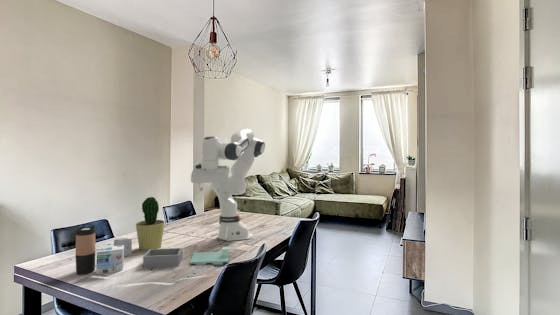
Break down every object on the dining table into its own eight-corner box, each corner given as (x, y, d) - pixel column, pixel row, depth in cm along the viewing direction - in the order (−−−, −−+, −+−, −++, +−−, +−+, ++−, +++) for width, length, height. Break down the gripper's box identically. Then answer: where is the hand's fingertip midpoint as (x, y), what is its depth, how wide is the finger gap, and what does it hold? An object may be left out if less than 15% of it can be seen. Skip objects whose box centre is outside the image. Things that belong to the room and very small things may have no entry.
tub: (182, 259, 155) (182, 248, 155) (178, 267, 144) (178, 255, 144) (149, 261, 152) (149, 249, 152) (143, 269, 142) (143, 256, 141)
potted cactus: (158, 242, 184) (158, 193, 183) (169, 248, 173) (169, 196, 172) (131, 247, 173) (131, 195, 173) (141, 254, 162) (141, 198, 162)
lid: (228, 254, 162) (228, 243, 162) (228, 264, 148) (228, 252, 148) (193, 256, 159) (193, 245, 159) (190, 265, 145) (190, 253, 145)
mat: (228, 255, 163) (228, 254, 163) (228, 265, 148) (228, 264, 148) (192, 256, 160) (192, 255, 160) (188, 267, 145) (188, 266, 145)
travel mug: (80, 276, 133) (80, 231, 133) (72, 272, 137) (72, 228, 137) (98, 270, 139) (98, 227, 139) (90, 267, 143) (90, 225, 143)
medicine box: (132, 255, 161) (132, 238, 161) (125, 257, 157) (125, 241, 157) (120, 253, 164) (120, 237, 164) (113, 256, 159) (113, 239, 159)
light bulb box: (95, 276, 134) (96, 251, 133) (98, 270, 140) (98, 247, 140) (123, 272, 138) (123, 248, 138) (124, 267, 144) (124, 244, 144)
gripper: (229, 165, 170) (229, 189, 171) (192, 165, 167) (191, 190, 167) (229, 166, 164) (229, 191, 164) (190, 165, 161) (190, 191, 161)
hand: (210, 190), depth 166 cm, fingers open, 8 cm apart
